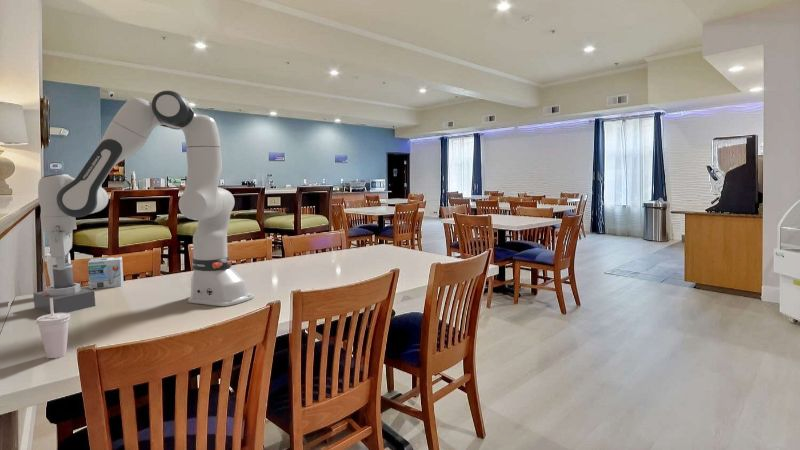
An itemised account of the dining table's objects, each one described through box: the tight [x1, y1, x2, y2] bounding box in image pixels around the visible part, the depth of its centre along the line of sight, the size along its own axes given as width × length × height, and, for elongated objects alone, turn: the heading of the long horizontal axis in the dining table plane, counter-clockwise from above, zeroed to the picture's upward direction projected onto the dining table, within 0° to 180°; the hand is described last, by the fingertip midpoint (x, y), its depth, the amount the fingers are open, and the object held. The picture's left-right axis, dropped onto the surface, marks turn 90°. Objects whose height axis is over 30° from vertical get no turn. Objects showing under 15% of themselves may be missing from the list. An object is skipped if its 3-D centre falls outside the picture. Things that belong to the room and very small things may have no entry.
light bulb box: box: [87, 256, 125, 290], centre depth 169 cm, size 11×7×11 cm, turn 117°
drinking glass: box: [46, 252, 72, 286], centre depth 156 cm, size 7×7×15 cm
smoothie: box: [35, 298, 71, 359], centre depth 103 cm, size 6×6×14 cm
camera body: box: [32, 282, 96, 314], centre depth 142 cm, size 14×11×7 cm
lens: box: [52, 263, 74, 289], centre depth 141 cm, size 5×5×9 cm
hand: (63, 267), depth 141 cm, fingers open, 8 cm apart
